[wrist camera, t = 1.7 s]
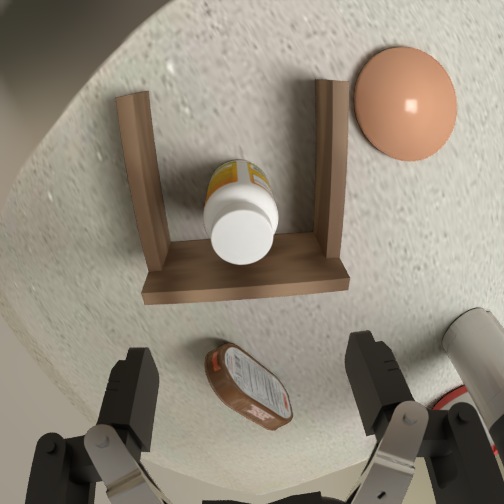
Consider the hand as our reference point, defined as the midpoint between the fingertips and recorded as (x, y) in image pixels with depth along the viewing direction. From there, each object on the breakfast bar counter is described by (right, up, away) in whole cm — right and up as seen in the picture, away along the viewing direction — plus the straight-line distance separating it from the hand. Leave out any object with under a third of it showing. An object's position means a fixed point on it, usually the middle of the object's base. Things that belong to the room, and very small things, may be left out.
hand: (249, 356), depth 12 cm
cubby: (-1, +11, +16) cm, 19 cm away
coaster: (+14, +18, +13) cm, 26 cm away
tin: (0, -11, +29) cm, 31 cm away
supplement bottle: (-1, +10, +17) cm, 20 cm away
